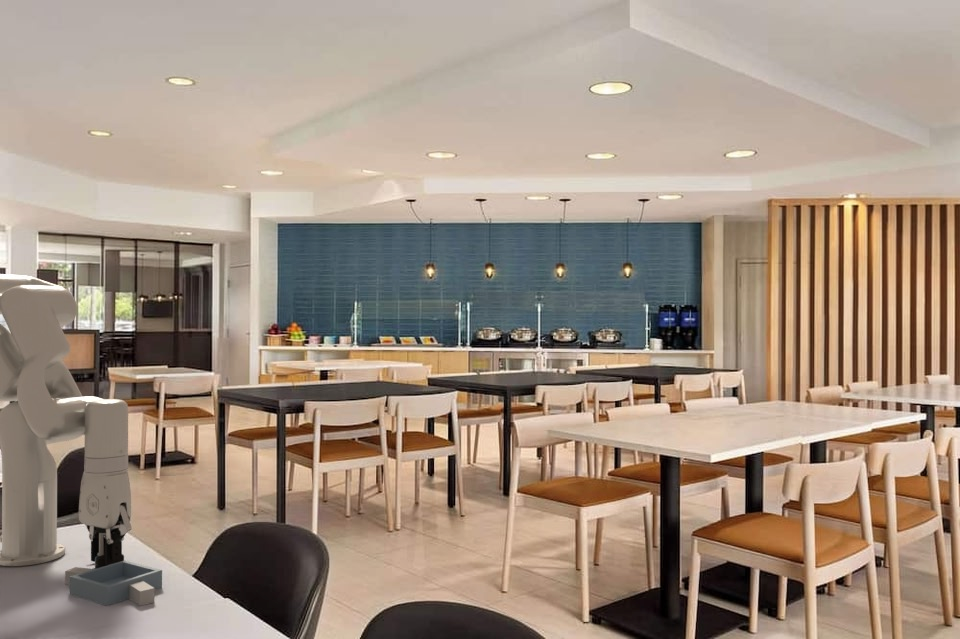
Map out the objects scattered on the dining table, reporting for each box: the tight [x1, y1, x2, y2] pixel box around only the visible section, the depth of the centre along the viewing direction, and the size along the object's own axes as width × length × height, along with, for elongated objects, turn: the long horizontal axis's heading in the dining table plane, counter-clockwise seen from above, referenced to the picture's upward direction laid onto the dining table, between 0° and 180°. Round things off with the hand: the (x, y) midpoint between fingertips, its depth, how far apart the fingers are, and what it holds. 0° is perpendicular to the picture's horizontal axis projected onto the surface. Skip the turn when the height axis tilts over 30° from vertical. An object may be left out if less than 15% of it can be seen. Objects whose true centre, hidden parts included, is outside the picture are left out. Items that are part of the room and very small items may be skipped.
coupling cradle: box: [64, 559, 163, 607], centre depth 138 cm, size 22×11×3 cm, turn 60°
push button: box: [85, 523, 125, 569], centre depth 149 cm, size 7×5×10 cm
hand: (106, 560), depth 149 cm, fingers closed on push button, 3 cm apart
